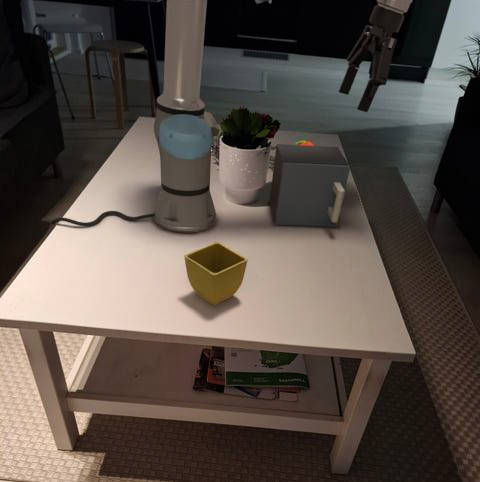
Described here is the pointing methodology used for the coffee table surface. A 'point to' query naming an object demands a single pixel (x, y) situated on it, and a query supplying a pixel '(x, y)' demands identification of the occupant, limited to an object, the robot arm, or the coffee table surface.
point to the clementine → (305, 143)
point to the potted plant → (211, 123)
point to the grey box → (300, 156)
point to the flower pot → (215, 272)
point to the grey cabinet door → (311, 194)
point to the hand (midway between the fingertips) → (352, 101)
